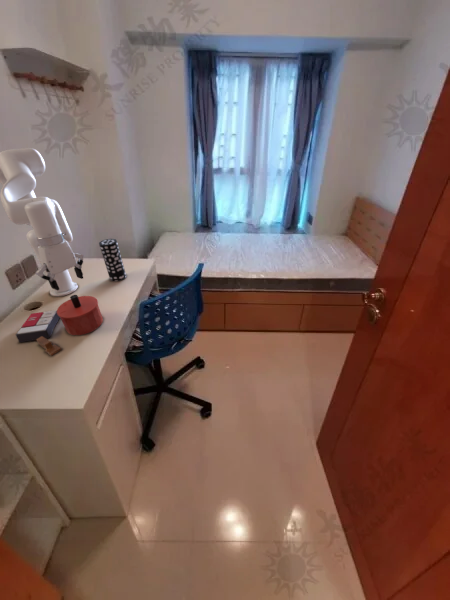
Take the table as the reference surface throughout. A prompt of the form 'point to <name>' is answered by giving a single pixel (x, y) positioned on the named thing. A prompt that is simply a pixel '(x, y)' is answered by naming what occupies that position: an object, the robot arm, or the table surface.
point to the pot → (83, 323)
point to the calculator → (38, 326)
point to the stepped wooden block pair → (48, 346)
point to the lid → (77, 307)
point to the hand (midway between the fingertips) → (68, 283)
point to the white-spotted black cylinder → (112, 259)
